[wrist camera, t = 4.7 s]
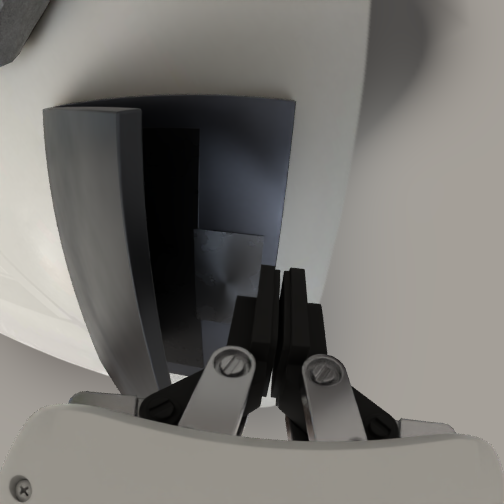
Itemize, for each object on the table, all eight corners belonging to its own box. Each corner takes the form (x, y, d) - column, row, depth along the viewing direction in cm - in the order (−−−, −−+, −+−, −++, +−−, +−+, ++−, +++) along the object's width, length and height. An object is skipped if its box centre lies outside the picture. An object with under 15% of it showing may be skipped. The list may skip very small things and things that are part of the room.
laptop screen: (147, 107, 6) (116, 111, 6) (198, 477, 20) (191, 482, 19) (52, 107, 16) (42, 109, 16) (105, 357, 30) (99, 360, 29)
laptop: (294, 100, 17) (296, 101, 15) (258, 374, 30) (257, 387, 29) (65, 104, 18) (51, 107, 16) (111, 347, 31) (105, 357, 30)
